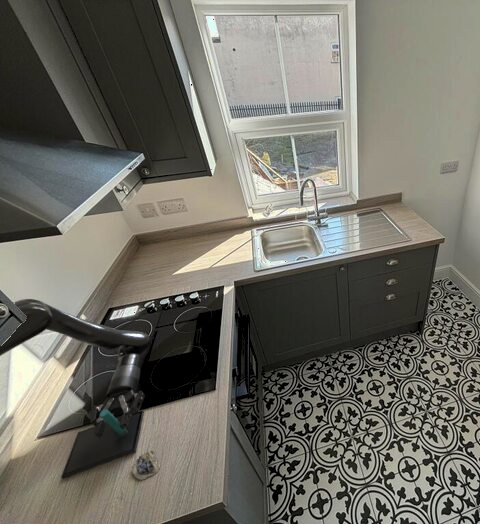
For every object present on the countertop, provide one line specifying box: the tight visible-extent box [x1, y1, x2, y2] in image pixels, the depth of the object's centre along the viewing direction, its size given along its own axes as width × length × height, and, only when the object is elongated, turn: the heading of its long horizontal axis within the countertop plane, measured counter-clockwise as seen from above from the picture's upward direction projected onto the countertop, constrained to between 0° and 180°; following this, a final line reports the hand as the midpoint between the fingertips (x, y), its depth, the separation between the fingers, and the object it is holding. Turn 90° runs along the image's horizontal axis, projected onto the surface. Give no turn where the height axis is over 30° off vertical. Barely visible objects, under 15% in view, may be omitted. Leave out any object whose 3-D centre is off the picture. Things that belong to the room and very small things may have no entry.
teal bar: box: [100, 410, 128, 436], centre depth 86 cm, size 2×2×12 cm
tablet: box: [60, 410, 145, 480], centre depth 88 cm, size 18×13×1 cm
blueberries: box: [131, 450, 161, 481], centre depth 82 cm, size 7×8×2 cm
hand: (110, 431), depth 83 cm, fingers open, 5 cm apart
